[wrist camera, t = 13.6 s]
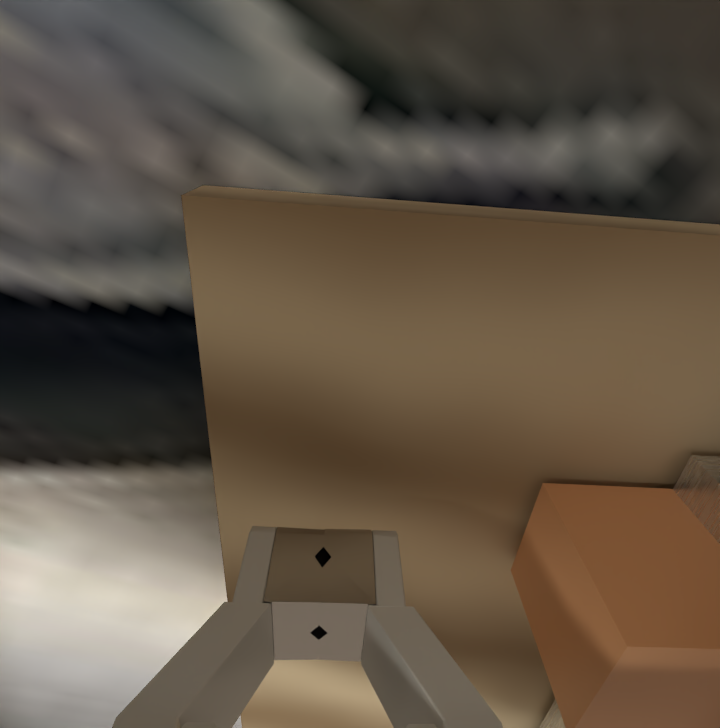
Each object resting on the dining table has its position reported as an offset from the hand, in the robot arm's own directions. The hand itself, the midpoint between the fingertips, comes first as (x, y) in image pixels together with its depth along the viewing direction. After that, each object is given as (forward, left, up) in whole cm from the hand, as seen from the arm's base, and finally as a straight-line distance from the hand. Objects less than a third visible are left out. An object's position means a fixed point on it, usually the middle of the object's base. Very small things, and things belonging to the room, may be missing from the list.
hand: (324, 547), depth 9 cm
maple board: (+5, +5, -3) cm, 8 cm away
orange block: (0, +6, -1) cm, 6 cm away
